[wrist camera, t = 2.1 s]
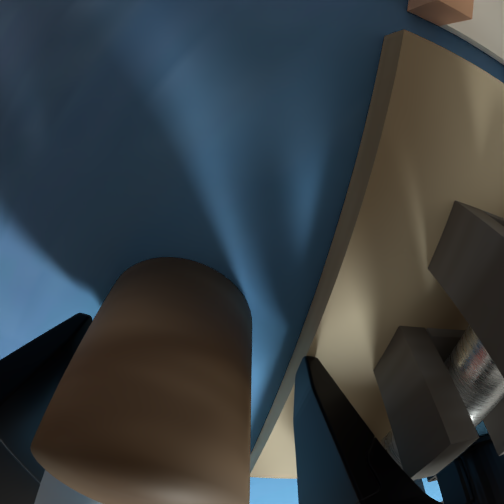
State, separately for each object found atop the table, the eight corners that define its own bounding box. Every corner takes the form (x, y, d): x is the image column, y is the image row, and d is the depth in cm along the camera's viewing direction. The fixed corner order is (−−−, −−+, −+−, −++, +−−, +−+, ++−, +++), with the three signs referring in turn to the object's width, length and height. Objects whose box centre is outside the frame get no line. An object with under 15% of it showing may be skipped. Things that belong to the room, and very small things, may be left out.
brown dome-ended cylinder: (266, 271, 9) (274, 476, 4) (239, 378, 12) (232, 530, 6) (105, 244, 9) (-5, 405, 4) (116, 355, 11) (65, 492, 6)
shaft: (561, 229, 7) (670, 335, 2) (397, 462, 13) (417, 553, 8) (469, 186, 6) (650, 345, 1) (309, 468, 13) (318, 574, 8)
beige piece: (582, 159, 7) (674, 215, 2) (404, 454, 16) (422, 524, 11) (384, 35, 6) (545, 0, 1) (249, 458, 15) (247, 545, 10)
